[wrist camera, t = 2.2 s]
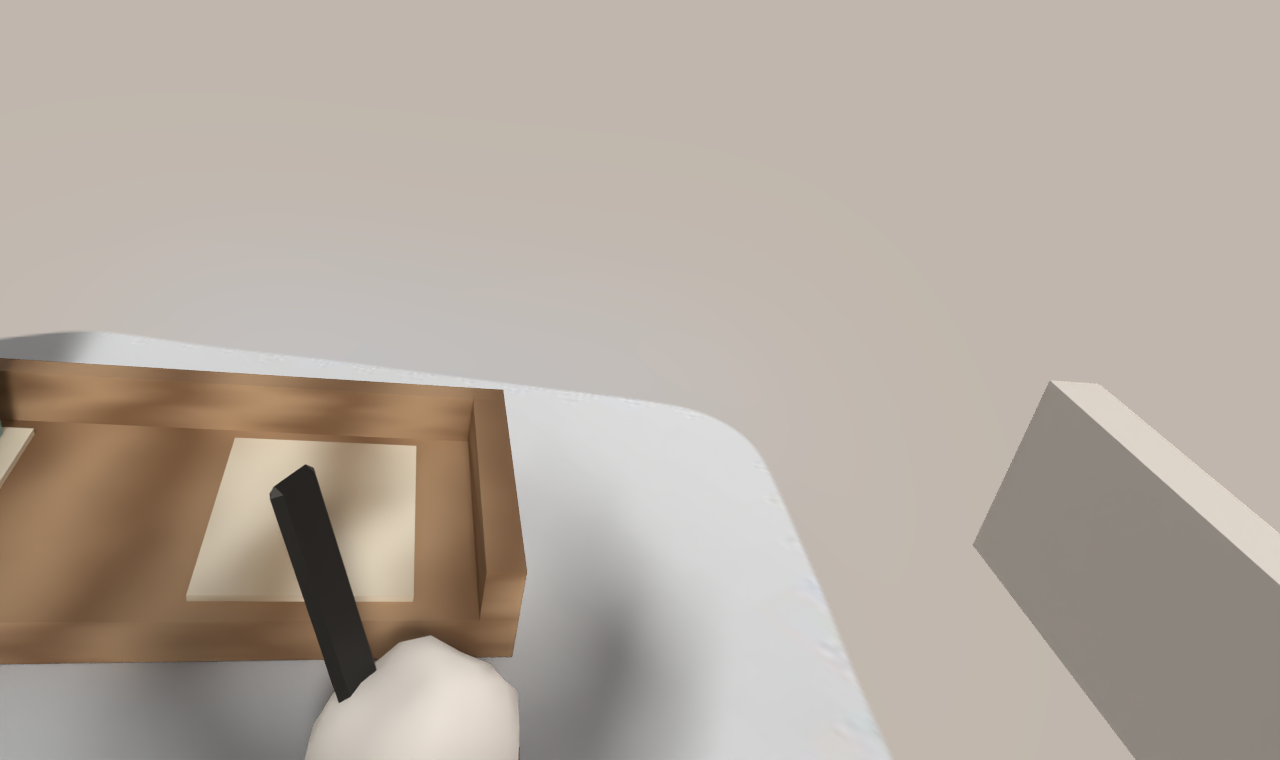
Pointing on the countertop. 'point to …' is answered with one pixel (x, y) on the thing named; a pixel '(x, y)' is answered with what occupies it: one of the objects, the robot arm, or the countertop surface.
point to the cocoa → (386, 663)
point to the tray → (246, 513)
